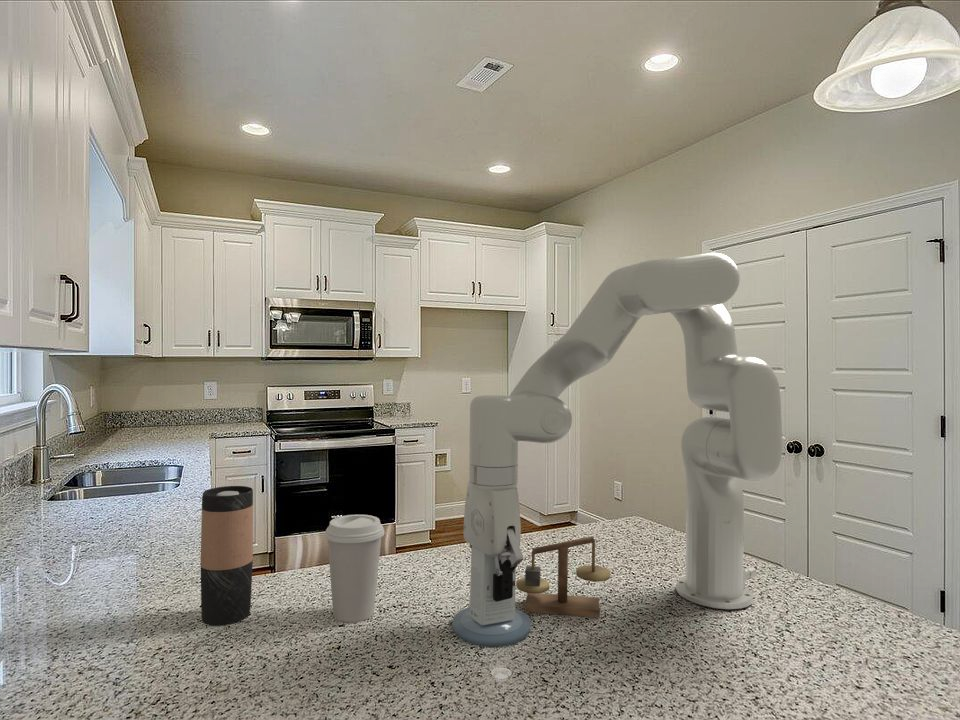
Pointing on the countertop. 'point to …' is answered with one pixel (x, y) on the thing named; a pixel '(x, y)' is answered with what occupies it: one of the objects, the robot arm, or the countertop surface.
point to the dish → (491, 629)
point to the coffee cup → (354, 565)
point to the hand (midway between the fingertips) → (492, 591)
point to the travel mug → (226, 554)
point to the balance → (561, 584)
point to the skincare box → (487, 591)
